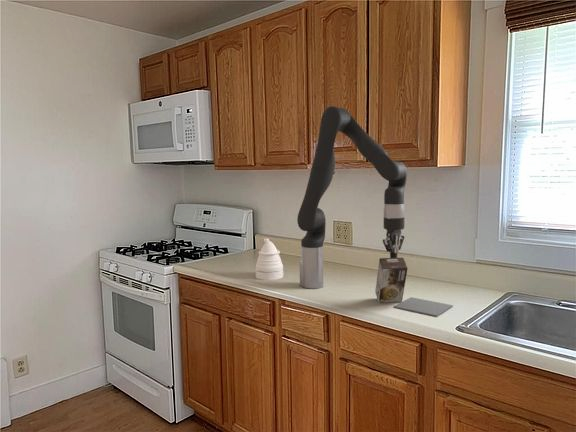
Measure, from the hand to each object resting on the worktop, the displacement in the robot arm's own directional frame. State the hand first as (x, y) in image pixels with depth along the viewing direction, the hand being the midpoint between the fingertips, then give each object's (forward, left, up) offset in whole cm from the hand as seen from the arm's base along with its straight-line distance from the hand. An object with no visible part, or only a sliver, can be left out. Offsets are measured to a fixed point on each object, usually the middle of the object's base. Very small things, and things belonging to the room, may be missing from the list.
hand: (393, 262), depth 165 cm
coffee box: (-2, 0, -14) cm, 14 cm away
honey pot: (-63, -1, -15) cm, 64 cm away
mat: (+12, 0, -15) cm, 19 cm away
